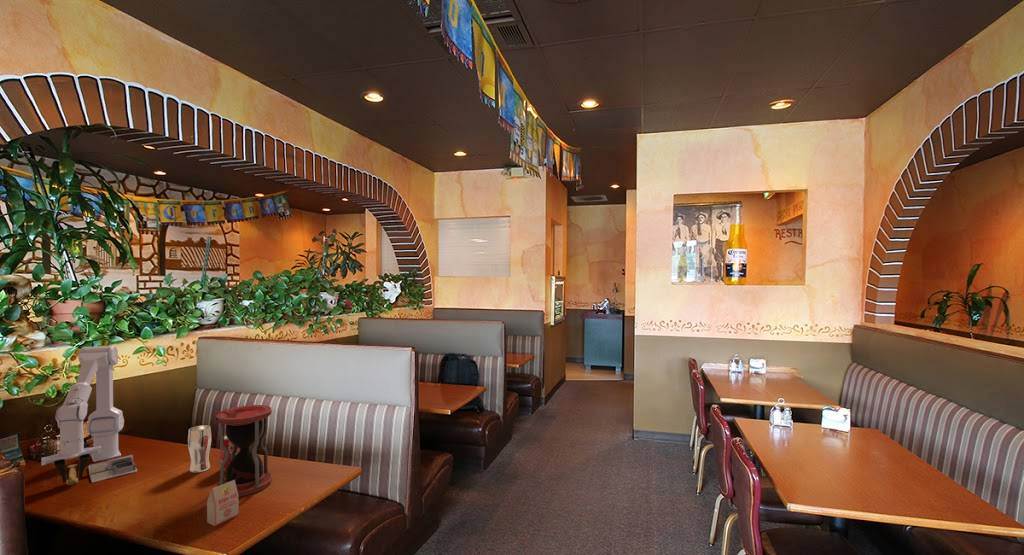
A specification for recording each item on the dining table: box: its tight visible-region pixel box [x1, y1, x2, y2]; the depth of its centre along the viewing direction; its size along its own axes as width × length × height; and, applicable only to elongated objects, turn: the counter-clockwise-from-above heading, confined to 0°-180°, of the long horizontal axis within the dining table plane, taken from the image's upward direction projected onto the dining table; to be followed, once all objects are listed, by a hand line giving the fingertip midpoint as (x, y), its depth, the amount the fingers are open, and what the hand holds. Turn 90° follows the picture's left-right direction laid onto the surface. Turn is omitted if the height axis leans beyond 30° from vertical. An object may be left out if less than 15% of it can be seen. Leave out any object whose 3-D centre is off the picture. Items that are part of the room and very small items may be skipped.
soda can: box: [219, 434, 240, 473], centre depth 166 cm, size 7×7×12 cm
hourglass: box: [215, 404, 273, 497], centre depth 153 cm, size 16×16×25 cm
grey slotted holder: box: [87, 454, 134, 471], centre depth 168 cm, size 9×12×4 cm
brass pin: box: [66, 463, 79, 486], centre depth 155 cm, size 3×3×6 cm
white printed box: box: [206, 480, 240, 527], centre depth 133 cm, size 4×7×10 cm, turn 152°
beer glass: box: [187, 424, 212, 474], centre depth 166 cm, size 7×7×15 cm
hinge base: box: [88, 460, 138, 483], centre depth 163 cm, size 9×12×4 cm
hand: (72, 479), depth 155 cm, fingers open, 3 cm apart
